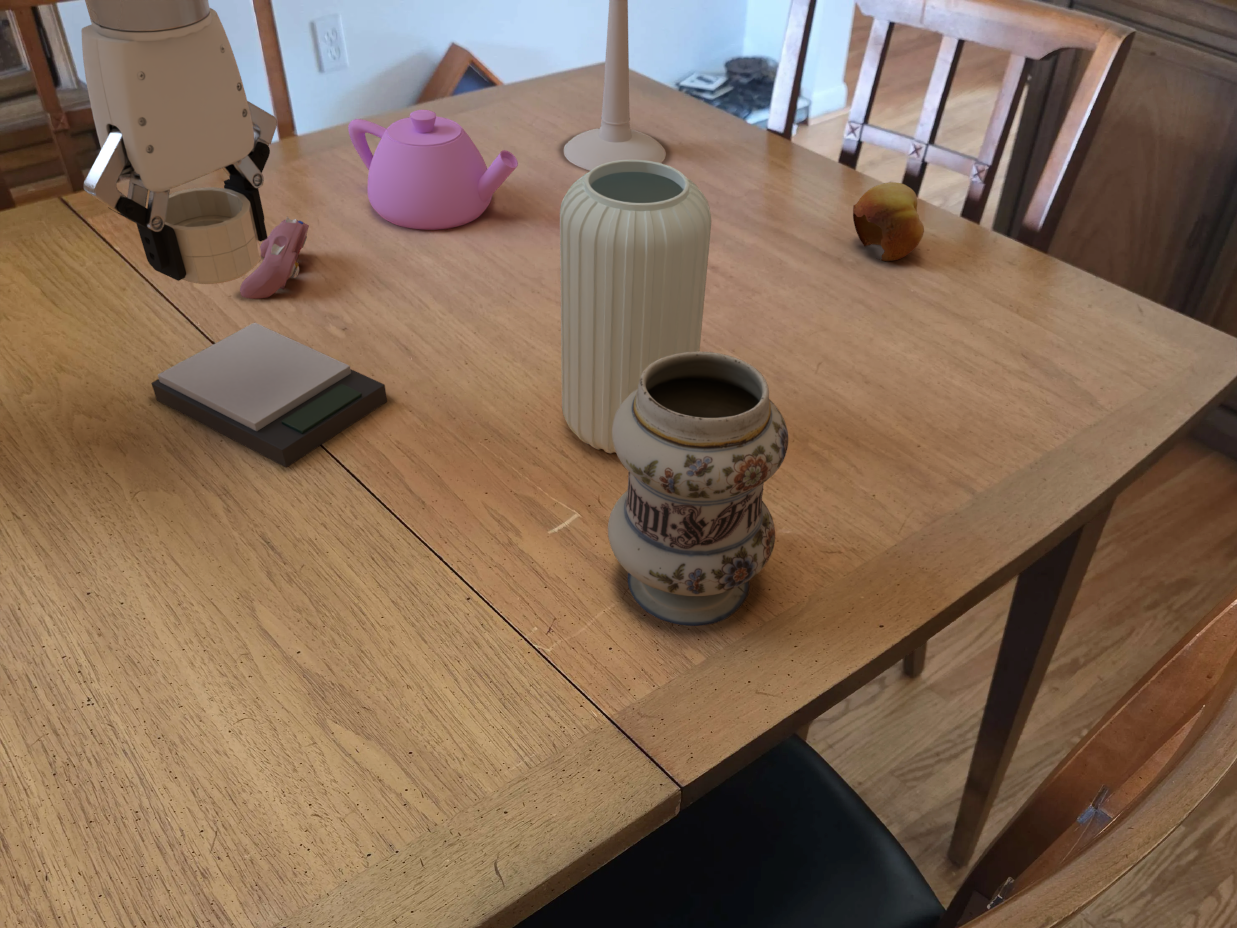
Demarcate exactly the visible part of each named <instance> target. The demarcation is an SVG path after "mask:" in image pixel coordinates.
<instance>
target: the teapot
mask: <svg viewBox="0 0 1237 928" xmlns="http://www.w3.org/2000/svg"><path fill="white" fill-rule="evenodd" d="M347 130H348V134H349V138H350V141H351V144H352V145H353V148H354V149H355V151H356V153H357V154H358V156H359V158H360V159H361V161H362V162H363V164H364V166H365V168H367V170H368V176H367V198H368V201H369V203H370V205H371V207H372V208H373V210H374V211H375V212H376V213H377V214H378V216H380V217H381V218H383V219H384V220H385V221H387V222H389V223H391V224H393V225H396V226H398V227H402V228H407V229H413V230H421V231H423V230H424V231H437V230H447V229H453V228H458V227H460V226H464V225H467V224H469V223H471V222H473V221H476V220H477V219H478V218H479V217H481V216H482V215H483V214H484V212H485V211H486V210H487V208H488V207H489V205H490V203H491V202H492V198H493V195H494V193H495V192H496V191H497V190H498V189H499V188H500V187H501V186H502V184H503V183H504V182H505V181H506V180H507V179H508V178H509V177H510V176H511V174H512V173H513V172H514V171H515V170H516V169H517V168H518V166H519V161H518V159H517V157H516V156H515V155H514V154H513V153H512V151H511V152H510V151H509V150H506V149H503V150H501V151H500V152H499V153H498V155H497V156H496V157H495V159H493V161H492V163H491V164H490V165H489V166H487V164H486V162H485V159H484V157H483V156H482V154H481V152H480V150H479V149H478V147H477V146H476V144H475V143H474V141H473V139H471V136H469V134H468V133H467V132H466V130H465V129H464V128H463V127H462V125H460V124H459V123H458V122H456V121H455V120H452V119H450V118H447V117H443V116H437V113H436V112H434V111H433V110H429V109H416V110H414V111H412V112H410V113H409V116H408V117H404V118H401V119H397V120H396V121H394V122H392V123H390V125H389V126H388V127H387V128H386V127H384V126H382V125H380V124H378V123H375V122H373V121H370V120H366V119H363V118H355V119H352V120H351V121H350V122H349V123H348V127H347ZM366 134H370V135H372V136H375V137H377V138H380V140H379V141H378V143H377V147H376V149H375V151H374V153H372V151H371V149H370V146H369V143H368V140H367V138H366Z"/></svg>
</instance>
